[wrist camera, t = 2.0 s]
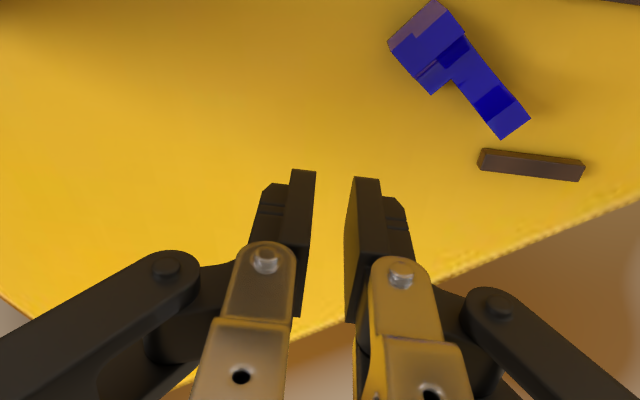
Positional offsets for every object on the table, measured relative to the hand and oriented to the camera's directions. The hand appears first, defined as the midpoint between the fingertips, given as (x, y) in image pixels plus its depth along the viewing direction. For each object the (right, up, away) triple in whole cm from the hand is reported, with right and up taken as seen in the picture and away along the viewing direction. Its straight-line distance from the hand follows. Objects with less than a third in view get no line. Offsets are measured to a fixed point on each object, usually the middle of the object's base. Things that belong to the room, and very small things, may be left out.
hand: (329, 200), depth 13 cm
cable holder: (+8, +8, +15) cm, 19 cm away
